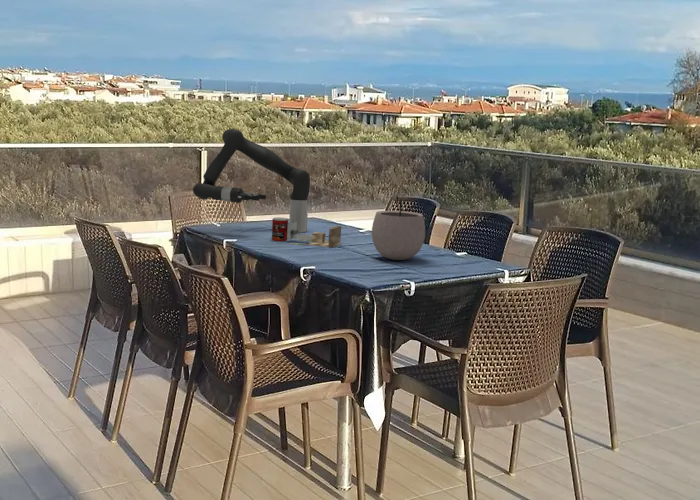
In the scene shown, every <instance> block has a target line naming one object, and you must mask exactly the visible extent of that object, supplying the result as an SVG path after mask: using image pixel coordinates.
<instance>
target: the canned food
mask: <svg viewBox="0 0 700 500" xmlns="http://www.w3.org/2000/svg"><path fill="white" fill-rule="evenodd" d="M288 223H289V218H288V217H281V216H280V217H272V225H271V227H272V229H271V240H272V241H273V242H287V241H288V239H287V228H288Z"/></svg>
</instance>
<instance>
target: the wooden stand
mask: <svg viewBox="0 0 700 500" xmlns="http://www.w3.org/2000/svg"><path fill="white" fill-rule="evenodd" d="M328 229H329V231H328V240H326V234H327V233H326V232H321V231H320V232H319V231H318V232H317V231H314V232H313V233H311V235H312V241H309V240H300V241H301V242H303V241H304V242H309V243H301V242H300V243H299V242H298V243H297V242H290V243H289V245H299V246H314V247H321V248H322V247H324V248H336V247H338V246H340V245H341V239H342V238H341V237H342V226H341V225H335V226H332V227H330V228H328Z"/></svg>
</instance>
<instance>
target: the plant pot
mask: <svg viewBox="0 0 700 500" xmlns="http://www.w3.org/2000/svg"><path fill="white" fill-rule="evenodd" d="M405 195H406V194H405V193H404V194H403V195H402V198H400V197H399V196H398V195H397V194H396V202H397V204H399V210H379V211H376V213H375V216H374V219H373V220H372V221H373V223H372V226H371V238H372V242H373V245H374V248H375V250H376V251H377V252H378V253H379V254H380V255H381V256H382V257H384V258H386V259H389V260H393V261H405V260H409V259H411V258H413V257H415V256H416V255H417V254H418V253H419V252H420V251H421V249H422V247H423V244H424V241H425V239H426V225H425V218H424V215H423V214H422V213H418V212H413V211H405V210H403V211H402V200H403V198H404V196H405ZM399 199H400V201H399Z"/></svg>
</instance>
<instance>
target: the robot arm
mask: <svg viewBox="0 0 700 500" xmlns="http://www.w3.org/2000/svg"><path fill="white" fill-rule="evenodd" d="M221 137H222V142H223V143H224V144H223V146H222V148H221V149H220V151H219V153H218V154H217V155H216V156H215V157H214V159H213V160H212V161H211V162H210V163H209V165H208V167H207V168H206V170H205V172H204V174H203V176H202V177H203V182H202V183H196V184H195V185H194V186H193V188H192V192H193V195H195V196H196V197H197V198H198V199H200V200H203V201H206V200H208V199H212V200H215V201H221V202H226V203H234V204H235V203H237V204H241V203H242V202H243V201H256V202H257V201H260V200H267V199H266V198H267V196H266V194H260V193H255V192H249V191H245V192H244V189H243V188H242V187H234V186H216V182H217V181H218V179H219V177H220V175H221V174H222V172H223V170H224V169H225V167H226V165H227V164H228V163H229V161H230V159H231V158H232V157H233V155H234V154H235V153H236V151H239V152H240V153H242V154H243V155H245V156H247V157H248V158H249V159H250V160H252V161H253V162H254V163H256V164H258V165H260V166H262V167H263V168H265V169H266V170H268V171H270V172H272V173H275V174H277V175H279V176H280V177H282V178H283V179H285V180H286V181H287V182H289V184H291V185H292V187H293V188H292V192H291V194H290V199H289V218H288V223H290V222H293V221H297V230H298V233H306V232H308V215H309V214H308V198H309V194H310V189H311V188H310V187H311V186H310V185H311V176H310V173H309V172H308V171H306V170H304V169H300V168H297V167H294V166H293V165H290V164H289V163H287V162H285V161H284V159H282V157H280V156H279V155H278V154H276V153H275V152H274V151H272V150H270V149H268V148H267V147H266V146H263V145H260V144H258V143H256V142H253V141H251V140H249V139H248V138H246V137H245V136H244V134H243V132H242V131H241V130H239V129H235V128H229V129H226V130H224V131H223V133H222V136H221Z"/></svg>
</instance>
